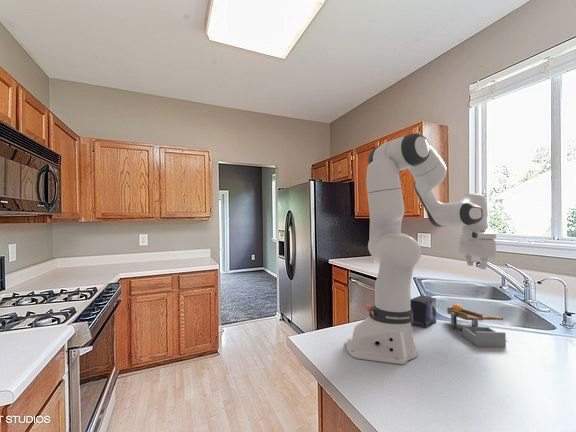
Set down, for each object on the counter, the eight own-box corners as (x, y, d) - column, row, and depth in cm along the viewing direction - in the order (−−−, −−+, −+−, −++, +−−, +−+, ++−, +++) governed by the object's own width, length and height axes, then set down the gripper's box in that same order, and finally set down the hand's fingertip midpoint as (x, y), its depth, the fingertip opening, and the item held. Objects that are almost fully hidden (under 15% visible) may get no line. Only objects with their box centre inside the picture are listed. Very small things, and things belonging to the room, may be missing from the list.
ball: (455, 312, 114) (453, 303, 115) (451, 312, 117) (450, 303, 118) (464, 312, 113) (462, 303, 115) (460, 312, 117) (458, 303, 118)
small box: (425, 329, 110) (425, 302, 110) (409, 324, 115) (409, 299, 115) (437, 322, 117) (436, 297, 117) (421, 318, 122) (421, 294, 122)
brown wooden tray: (465, 320, 103) (464, 313, 104) (447, 313, 118) (446, 307, 118) (506, 321, 102) (505, 314, 102) (482, 314, 116) (482, 308, 117)
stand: (453, 329, 109) (453, 314, 109) (448, 326, 113) (448, 311, 113) (480, 330, 108) (480, 315, 108) (475, 326, 112) (474, 312, 112)
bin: (476, 347, 94) (476, 332, 94) (462, 335, 103) (462, 322, 103) (505, 348, 93) (505, 332, 93) (489, 336, 102) (488, 323, 102)
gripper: (454, 232, 125) (455, 263, 125) (481, 234, 105) (482, 271, 104) (469, 232, 124) (470, 263, 124) (499, 234, 104) (500, 271, 104)
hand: (476, 267), depth 114 cm, fingers open, 8 cm apart
